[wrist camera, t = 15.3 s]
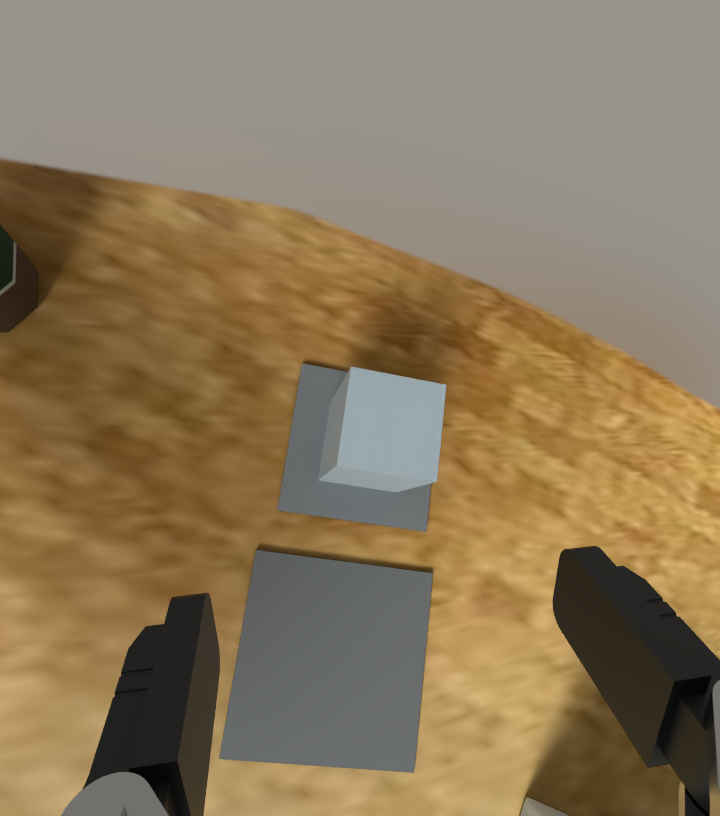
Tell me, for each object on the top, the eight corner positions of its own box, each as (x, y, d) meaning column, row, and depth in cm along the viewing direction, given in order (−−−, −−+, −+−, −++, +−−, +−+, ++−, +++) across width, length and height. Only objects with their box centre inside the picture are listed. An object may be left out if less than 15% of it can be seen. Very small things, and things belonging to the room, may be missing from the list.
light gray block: (396, 492, 42) (436, 481, 33) (317, 480, 42) (336, 465, 32) (405, 416, 44) (446, 384, 34) (329, 402, 43) (351, 366, 34)
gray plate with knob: (424, 531, 43) (438, 531, 39) (277, 510, 41) (279, 508, 38) (438, 391, 46) (453, 379, 42) (301, 365, 44) (305, 351, 41)
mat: (412, 770, 39) (414, 772, 38) (219, 756, 37) (219, 758, 36) (431, 572, 42) (432, 573, 42) (256, 549, 40) (256, 550, 40)
